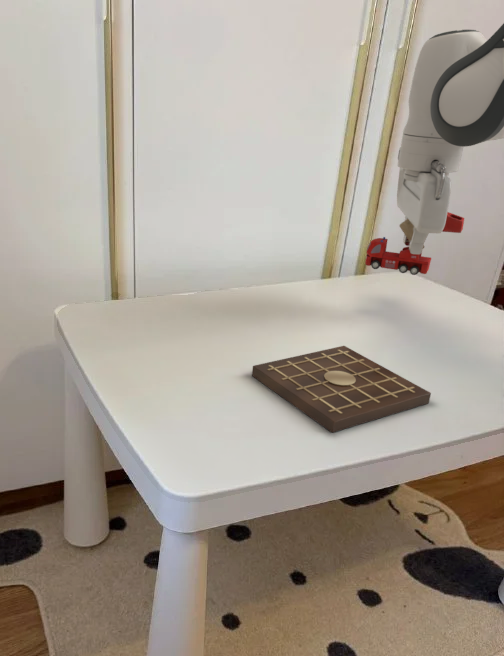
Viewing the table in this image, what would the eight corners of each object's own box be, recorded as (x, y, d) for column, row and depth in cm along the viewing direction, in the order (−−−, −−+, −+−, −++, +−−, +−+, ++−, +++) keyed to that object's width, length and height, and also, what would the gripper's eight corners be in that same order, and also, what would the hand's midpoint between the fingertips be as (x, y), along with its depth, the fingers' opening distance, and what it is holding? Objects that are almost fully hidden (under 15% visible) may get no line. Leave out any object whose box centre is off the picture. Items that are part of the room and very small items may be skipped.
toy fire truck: (366, 262, 106) (376, 203, 101) (452, 275, 101) (466, 213, 97) (362, 267, 103) (372, 206, 99) (450, 280, 98) (464, 217, 94)
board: (428, 403, 79) (431, 391, 78) (332, 433, 72) (334, 420, 71) (342, 354, 91) (344, 344, 90) (251, 375, 84) (252, 364, 83)
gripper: (469, 167, 85) (447, 268, 91) (436, 149, 103) (420, 235, 109) (421, 165, 85) (402, 265, 92) (397, 147, 103) (382, 232, 110)
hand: (411, 248), depth 101 cm, fingers closed on toy fire truck, 4 cm apart
